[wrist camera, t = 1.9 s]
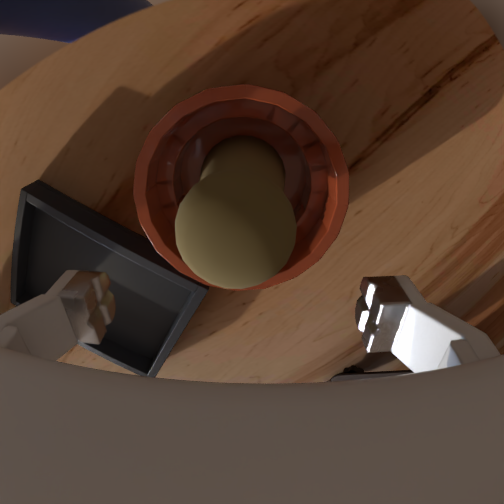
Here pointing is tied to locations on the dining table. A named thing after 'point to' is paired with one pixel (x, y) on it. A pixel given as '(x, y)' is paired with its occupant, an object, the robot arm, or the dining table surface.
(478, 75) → the dining table surface
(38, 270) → the tray
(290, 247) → the olive green bottle
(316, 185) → the bowl
